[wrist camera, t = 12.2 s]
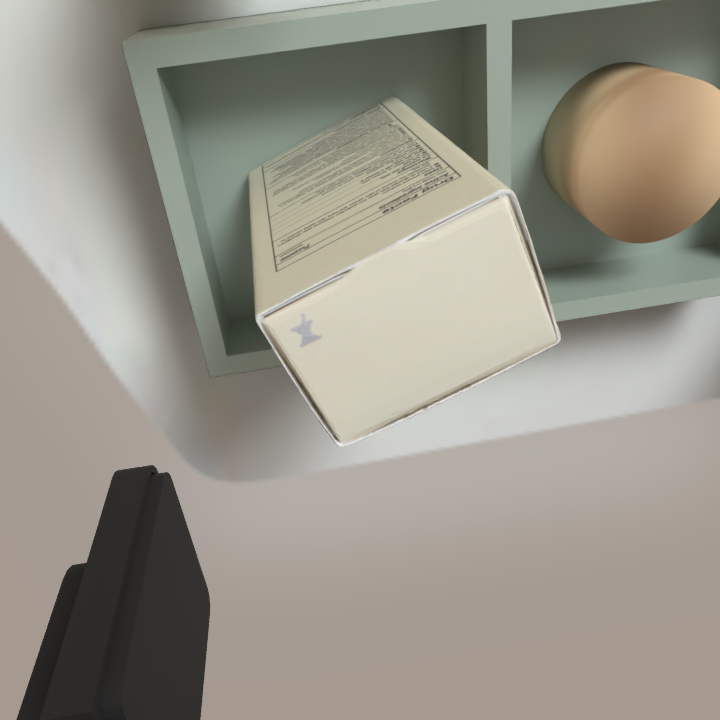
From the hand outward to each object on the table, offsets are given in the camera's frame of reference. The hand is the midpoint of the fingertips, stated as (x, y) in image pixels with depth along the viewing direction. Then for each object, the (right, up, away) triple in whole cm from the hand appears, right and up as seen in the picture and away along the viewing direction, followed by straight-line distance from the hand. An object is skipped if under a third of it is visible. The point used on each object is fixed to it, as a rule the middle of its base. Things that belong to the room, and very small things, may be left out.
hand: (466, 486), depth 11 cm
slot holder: (+3, +10, +16) cm, 19 cm away
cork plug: (+8, +10, +15) cm, 20 cm away
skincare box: (-2, +9, +15) cm, 17 cm away
